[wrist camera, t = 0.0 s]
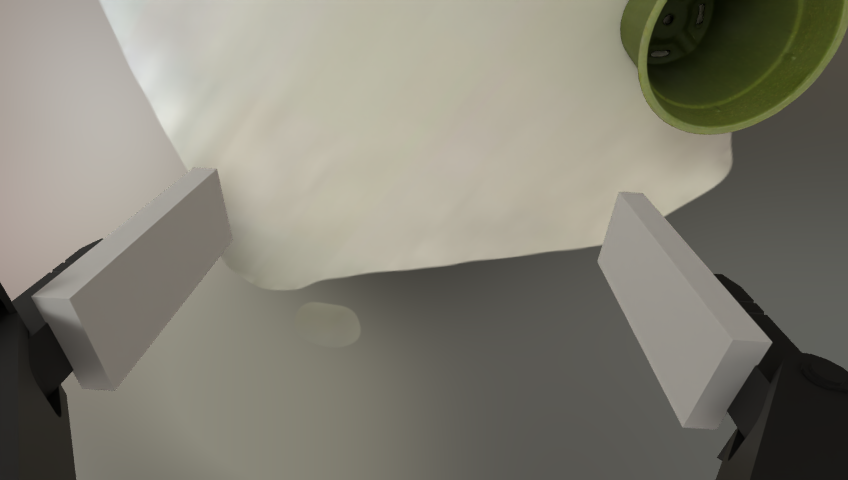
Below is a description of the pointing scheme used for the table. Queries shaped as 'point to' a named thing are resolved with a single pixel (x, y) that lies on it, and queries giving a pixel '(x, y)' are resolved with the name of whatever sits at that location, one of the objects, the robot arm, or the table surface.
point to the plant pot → (729, 57)
